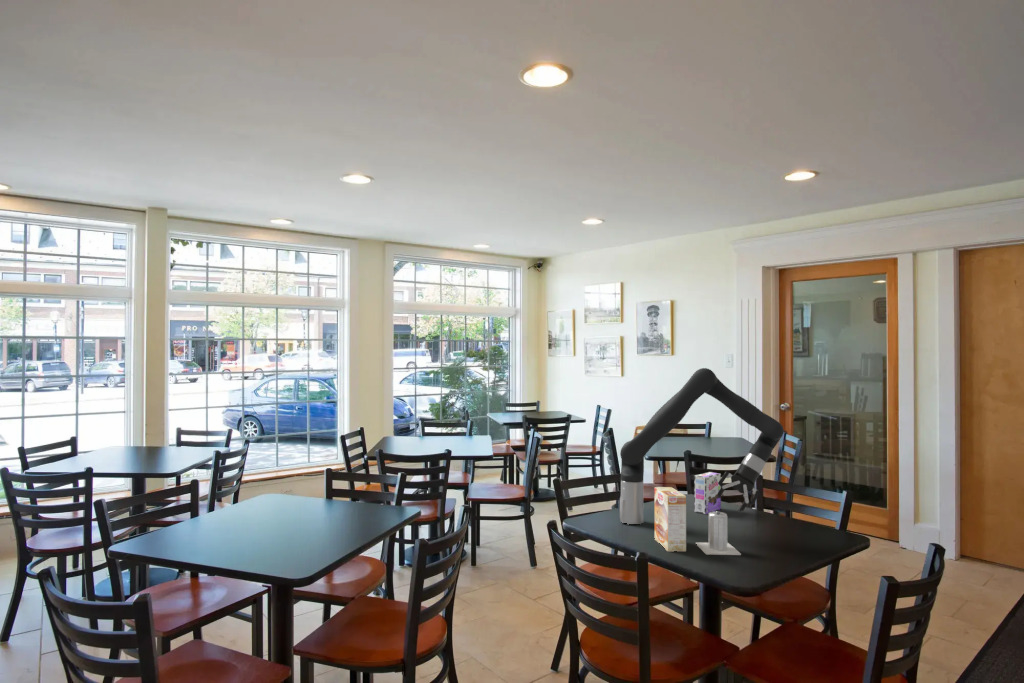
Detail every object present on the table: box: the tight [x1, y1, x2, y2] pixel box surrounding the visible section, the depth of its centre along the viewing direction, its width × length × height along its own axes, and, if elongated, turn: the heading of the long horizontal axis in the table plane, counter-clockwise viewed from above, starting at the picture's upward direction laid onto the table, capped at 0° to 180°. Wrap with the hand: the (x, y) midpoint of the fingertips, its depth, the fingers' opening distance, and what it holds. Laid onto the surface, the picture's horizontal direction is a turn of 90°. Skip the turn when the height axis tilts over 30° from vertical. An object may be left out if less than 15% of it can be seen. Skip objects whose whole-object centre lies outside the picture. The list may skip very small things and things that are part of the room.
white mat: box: [695, 541, 742, 556], centre depth 209 cm, size 12×12×1 cm
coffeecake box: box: [653, 486, 687, 553], centre depth 213 cm, size 15×7×20 cm, turn 4°
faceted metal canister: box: [707, 510, 728, 551], centre depth 209 cm, size 6×6×13 cm
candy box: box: [693, 471, 722, 515], centre depth 264 cm, size 14×6×16 cm, turn 132°
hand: (728, 504), depth 222 cm, fingers open, 8 cm apart
